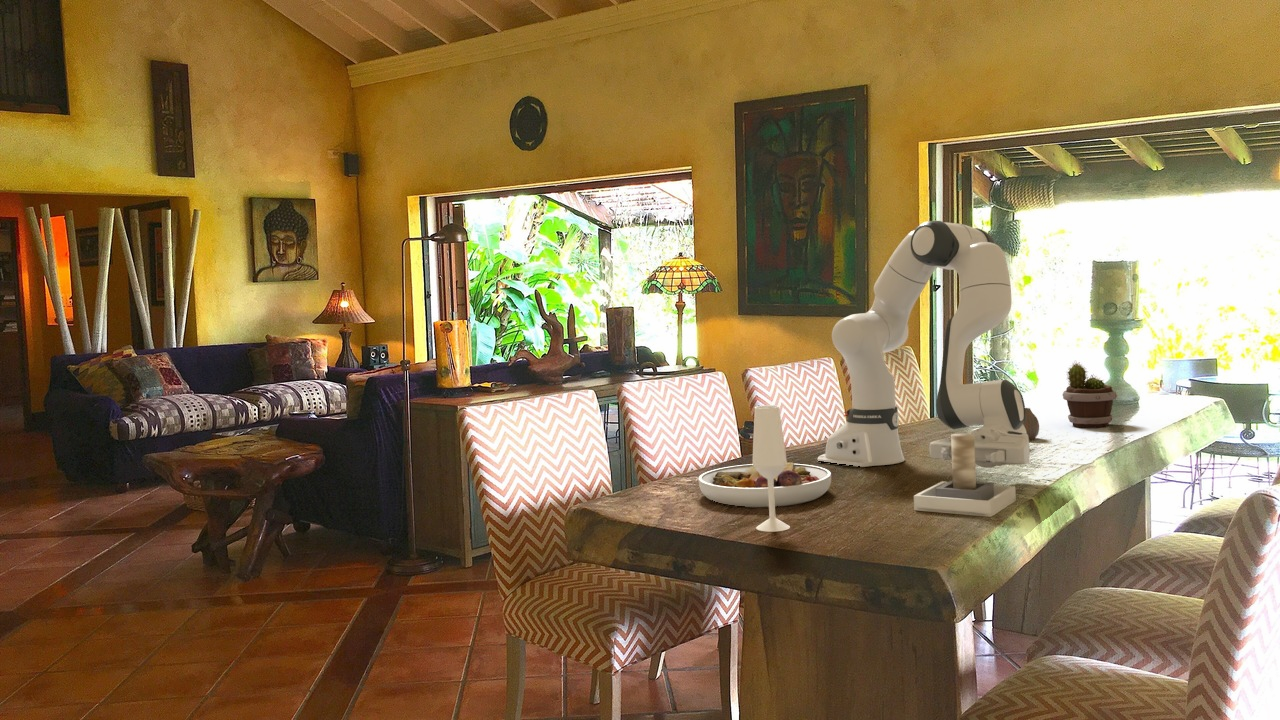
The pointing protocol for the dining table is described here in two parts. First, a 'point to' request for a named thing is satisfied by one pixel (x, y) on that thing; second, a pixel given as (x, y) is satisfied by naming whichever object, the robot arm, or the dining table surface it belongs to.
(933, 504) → the tray
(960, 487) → the peg
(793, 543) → the dining table surface
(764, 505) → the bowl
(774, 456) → the champagne flute
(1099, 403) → the flowerpot
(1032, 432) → the vase
